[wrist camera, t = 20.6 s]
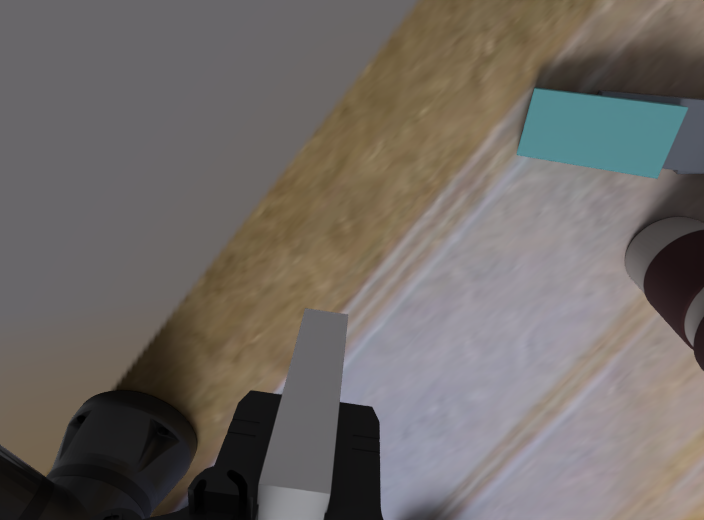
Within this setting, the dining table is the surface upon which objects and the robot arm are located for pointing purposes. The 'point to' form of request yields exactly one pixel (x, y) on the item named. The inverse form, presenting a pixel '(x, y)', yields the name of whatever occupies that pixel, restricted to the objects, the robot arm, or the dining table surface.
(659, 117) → the domino
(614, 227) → the dining table surface
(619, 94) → the domino
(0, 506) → the robot arm
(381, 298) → the dining table surface
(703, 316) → the coffee cup
